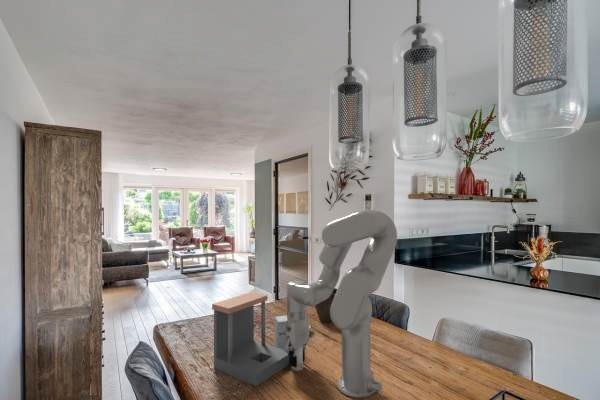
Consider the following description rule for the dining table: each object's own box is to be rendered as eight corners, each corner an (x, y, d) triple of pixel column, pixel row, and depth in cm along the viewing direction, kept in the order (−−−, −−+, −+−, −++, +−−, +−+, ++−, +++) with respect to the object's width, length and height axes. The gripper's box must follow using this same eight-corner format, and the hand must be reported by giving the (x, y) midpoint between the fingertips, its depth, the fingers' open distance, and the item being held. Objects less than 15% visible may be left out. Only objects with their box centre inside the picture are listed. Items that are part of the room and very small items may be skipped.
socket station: (292, 362, 122) (292, 300, 123) (255, 387, 105) (254, 315, 106) (251, 347, 135) (251, 292, 136) (211, 367, 118) (212, 304, 119)
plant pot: (307, 318, 172) (307, 288, 172) (331, 314, 178) (330, 286, 179) (320, 327, 158) (320, 295, 159) (345, 322, 165) (345, 292, 165)
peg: (305, 367, 118) (304, 340, 119) (298, 372, 115) (298, 344, 115) (295, 363, 121) (295, 337, 121) (288, 368, 117) (288, 341, 118)
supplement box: (277, 352, 131) (277, 321, 131) (274, 344, 138) (274, 316, 138) (294, 350, 133) (294, 320, 133) (290, 342, 140) (290, 314, 140)
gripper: (291, 323, 109) (291, 376, 109) (316, 310, 123) (317, 357, 122) (274, 318, 114) (275, 369, 113) (301, 307, 127) (301, 352, 127)
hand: (297, 362), depth 118 cm, fingers closed on peg, 4 cm apart
